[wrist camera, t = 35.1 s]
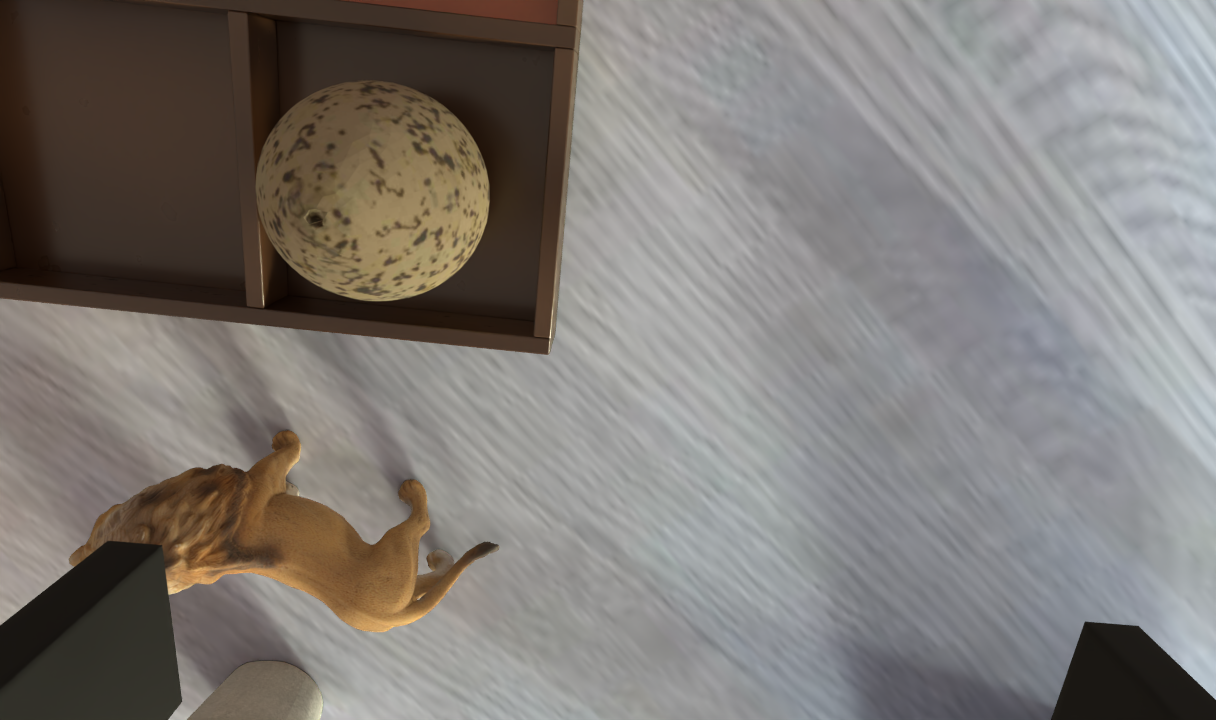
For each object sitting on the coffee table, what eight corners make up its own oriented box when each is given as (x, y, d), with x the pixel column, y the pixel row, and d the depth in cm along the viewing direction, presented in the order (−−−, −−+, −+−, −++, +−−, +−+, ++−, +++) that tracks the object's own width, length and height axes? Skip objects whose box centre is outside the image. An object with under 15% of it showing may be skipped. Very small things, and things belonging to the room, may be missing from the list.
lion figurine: (188, 498, 34) (42, 629, 25) (203, 400, 32) (52, 504, 23) (487, 581, 35) (446, 732, 26) (516, 491, 33) (482, 621, 25)
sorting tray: (555, 334, 31) (549, 355, 28) (15, 278, 30) (-44, 294, 27) (612, -340, 23) (611, -398, 20) (-109, -430, 22) (-206, -503, 20)
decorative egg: (447, 304, 30) (367, 393, 20) (293, 205, 28) (132, 249, 19) (540, 159, 28) (501, 182, 18) (380, 45, 26) (247, 6, 17)
